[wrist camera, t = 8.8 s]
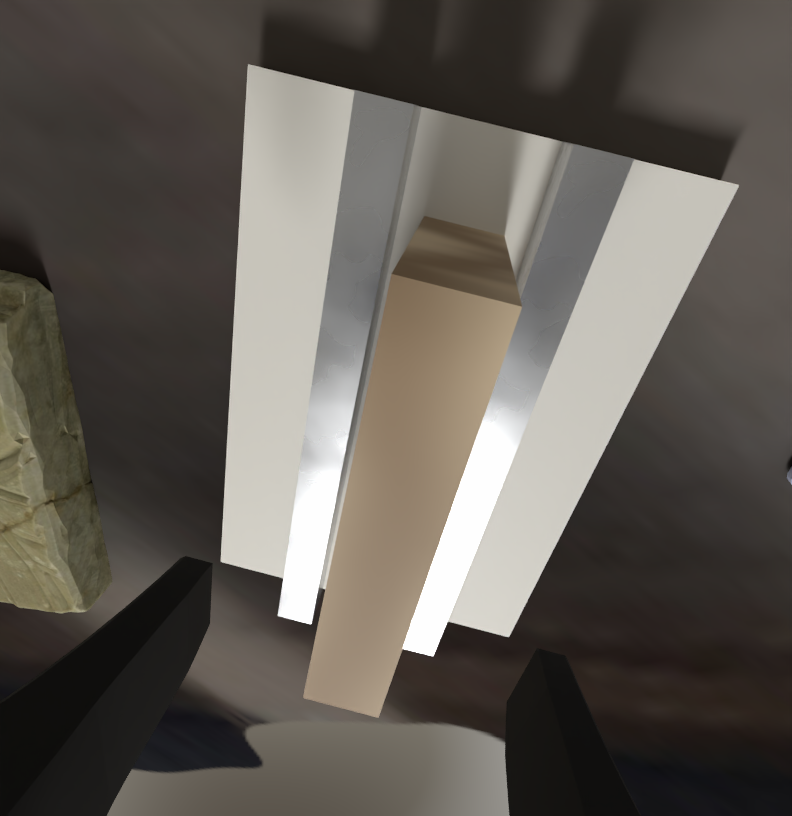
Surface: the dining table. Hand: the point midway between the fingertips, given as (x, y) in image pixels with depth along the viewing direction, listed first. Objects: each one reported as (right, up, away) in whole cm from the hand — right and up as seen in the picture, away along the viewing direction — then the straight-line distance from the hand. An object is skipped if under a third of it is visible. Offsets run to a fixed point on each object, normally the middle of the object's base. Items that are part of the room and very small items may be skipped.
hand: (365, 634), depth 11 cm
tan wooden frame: (+1, +5, +8) cm, 9 cm away
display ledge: (+1, +5, +9) cm, 10 cm away
